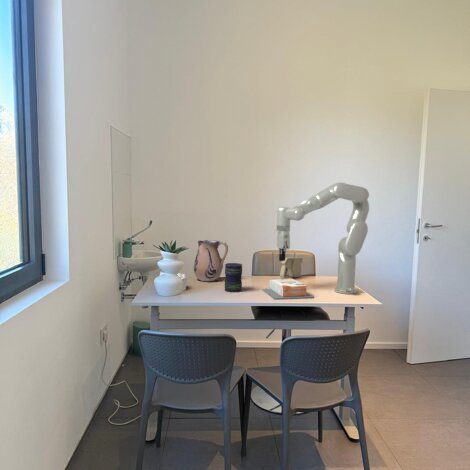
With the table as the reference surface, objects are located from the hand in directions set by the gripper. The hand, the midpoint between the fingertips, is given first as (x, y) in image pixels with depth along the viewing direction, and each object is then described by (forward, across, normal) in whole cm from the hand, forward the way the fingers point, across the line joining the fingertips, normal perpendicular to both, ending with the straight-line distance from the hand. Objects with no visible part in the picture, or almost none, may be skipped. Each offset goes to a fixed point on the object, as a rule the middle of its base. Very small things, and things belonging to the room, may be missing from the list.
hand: (282, 260), depth 237 cm
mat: (+17, -10, 0) cm, 20 cm away
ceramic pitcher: (+17, +31, +36) cm, 51 cm away
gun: (+17, +31, -18) cm, 40 cm away
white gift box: (+17, +9, +59) cm, 62 cm away
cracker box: (+13, +2, 0) cm, 14 cm away
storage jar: (+17, +2, +28) cm, 33 cm away
